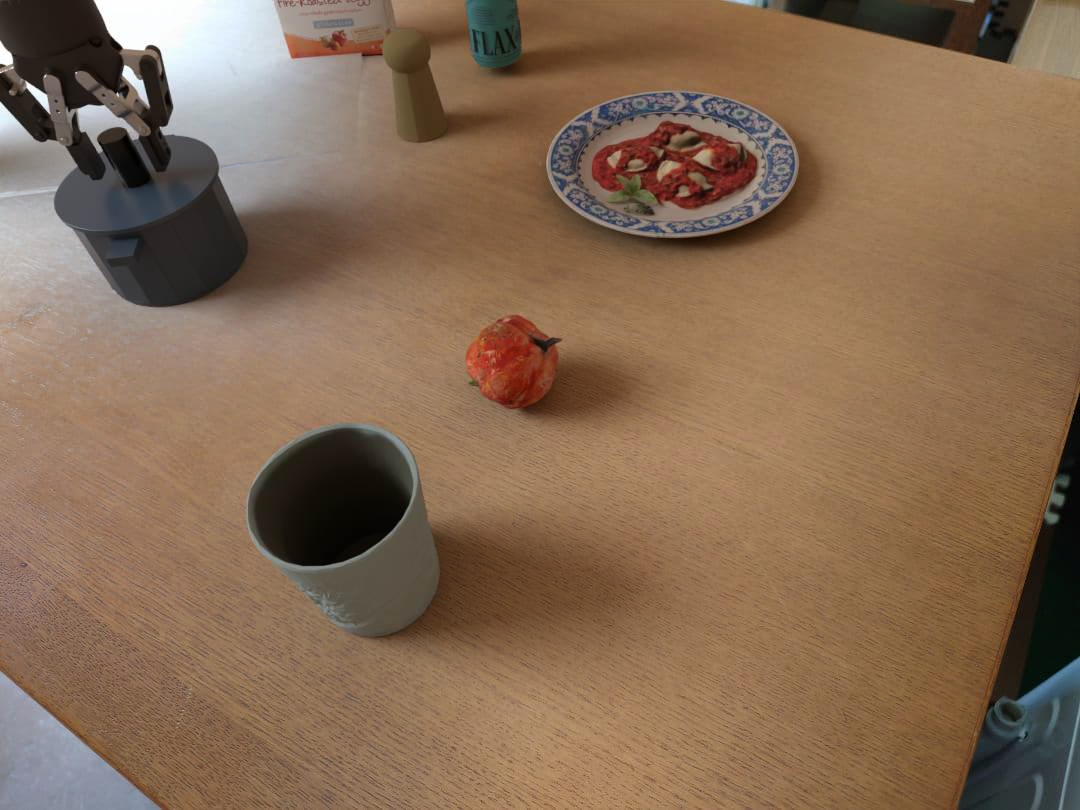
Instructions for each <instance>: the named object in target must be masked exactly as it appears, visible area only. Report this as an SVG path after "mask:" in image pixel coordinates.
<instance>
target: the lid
mask: <svg viewBox="0 0 1080 810" xmlns="http://www.w3.org/2000/svg"><path fill="white" fill-rule="evenodd" d="M163 135H164V137H165V139H166V141H167V143H168V146H169V147H170V149H171V158H170V161H169V164H168V166H167V169H166V171H164V172H156V171H155V169H154V167H153V165H152V163H151V161H150V160H149V158H148V156H147V154H146V152H145V150H144V148H143V146H142V144H141V142H140V141H139V139H138V138H136V139H133V138H132V137H131V135H130V133H129V132H128V130H127V129H126V128H125V127H122V126H114V127H110V128H107V129H105V130H103V131H102V132H100V133H99V134H97V137H96V141H97V143H98V145H99V146H100V148H101V149H102V151H100V152H98V154H99V155H100V157H101V159H102V160H103V162H104V164H105V167H106V171H105V174H104V176H103V178H102V180H95V181H93V180H92V179H91V178H90V176H89V175H85V174H83V173H82V172H81V171H80V169H79V168H78V166H77V165H76V167H75V168H74V169H72V170H71V171H70V172H69V173H68V174H67V175H66V177H64V179H63V180H62V181H61V183H60V184H59V186H58V188H57V189H56V192H55V194H54V197H53V209H54V210H55V213H56V215H57V217H58V218H59V219H60V220H61V222H62V223H63V224H64V225H66V227H68V228H70V229H72V230H73V229H74V230H76V231H79V232H82V233H87V234H94V235H117V234H125V233H131V232H135V231H140V230H144V229H147V228H150V227H153V226H156V225H159V224H161V223H164V222H166V221H168V220H170V219H172V218H174V217H176V216H178V215H180V214H182V213H183V212H185V211H187V210H188V209H190V208H191V207H193V206H194V205H195V204H196V203H198V202H199V201H200V200H201V199H202V198H203V197H204V196H205V195H206V194H207V193H208V192H209V191H210V189H211V188H212V187H213V185H214V183H215V182H216V180H217V177H218V176H219V172H220V162H219V160H218V156H217V154H216V152H215V151H214V149H213V148H212V147H210V145H208V144H207V143H206V142H204V141H201V140H199V139H197V138H194V137H191V136H186V135H178V134H177V135H176V134H174V135H172V134H163Z"/></svg>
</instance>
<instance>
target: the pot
mask: <svg viewBox="0 0 1080 810" xmlns="http://www.w3.org/2000/svg"><path fill="white" fill-rule="evenodd" d="M171 135H175V134H173V133H172V134H171ZM72 231H73V232H74V234H75V235H76V237H77V238H78V240H79V241H80V243H81V244H82V246H83V247H84V248H85V250H86V252H87V253H88V255H89V256H90V257H91V259H92V261H93V262H94V264H95V265H96V266H97V268H98V270H99V271H100V273H101V274H102V276H103V277H104V279H105V280H106V282H107V283H108V284H109V286H110V288H111V289H112V290H113V291H115V292H116V294H117V295H118V296H120V297H121V298H122V299H124V301H127V302H129V303H131V304H134V305H138V306H143V307H154V308H155V307H156V308H157V307H169V306H174V305H180V304H183V303H188V302H190V301H193V300H196V299H199V298H201V297H203V296H206V295H208V294H209V293H211V292H213V291H215V290H216V289H219V287H221V286H222V285H224V284H225V283H227V282H228V281H229V280H230V279H231V278H232V277H233V276H234V275H235V274H236V273H237V272H238V271H239V270H240V268H241V266H242V265H243V263H244V262H245V259H246V257H247V254H248V248H249V242H248V236H247V235H246V232H245V230H244V227H243V226H242V224H241V222H240V219H239V217H238V215H237V213H236V211H235V209H234V205H233V204H232V202H231V200H230V198H229V196H228V193H227V191H226V188H225V187H224V184H223V182H222V179H221V177H220V176H219V175H218V177H217V180H216V182H215V183H214V185H213V187H212V188H211V189H210V191H209V192H208V193H207V194H206V195H205V196H204V197H203V198H202V199H201V200H200V201H199V202H198V203H196V204H195V205H194V206H193V207H191V208H190V209H188V210H187V211H185V212H183V213H182V214H180V215H178V216H176V217H174V218H172V219H170V220H168V221H166V222H164V223H161V224H159V225H156V226H153V227H150V228H147V229H144V230H140V231H135V232H131V233H125V234H117V235H94V234H87V233H82V232H79V231H76V230H74V229H72Z"/></svg>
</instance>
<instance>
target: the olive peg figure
mask: <svg viewBox="0 0 1080 810" xmlns="http://www.w3.org/2000/svg"><path fill="white" fill-rule="evenodd" d="M382 53H383V54H382V57H383V60H384V61H385V63H386V65H387V66H388V67H389V68H390V69H391V78H392V79H391V81H392V90H393V91H392V92H393V101H394V111H395V124H396V133H397V135H398V137H399V138H401V139H402V140H404V141H406V142H410V143H424V142H425V143H426V142H429V141H433V140H436V139H437V138H439V137H442V135H444V134H445V133H446V131H447V130H448V127H449V122H448V120H447V116H446V113H445V111H444V106H443V103H442V100H441V97H440V95H439V91H438V87H437V85H436V81H435V78H434V76H433V73H432V70H431V66H430V64H429V62H430V60H431V56H432V48H431V42H430V40H429V39H428V37H427V36H426V34H425V32H423V31H421V30H420V29H416V28H412V27H411V28H410V27H409V28H408V27H407V28H405V27H404V28H400V29H397V30H396V31H394V32H392V33H390V34H389V35H388V36H386V38H385V39H384V42H383V49H382Z"/></svg>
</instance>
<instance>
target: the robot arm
mask: <svg viewBox="0 0 1080 810" xmlns="http://www.w3.org/2000/svg"><path fill="white" fill-rule="evenodd" d="M0 43H1V44H2V46H3V47H4V49H5V50H6V51H7V52H9V53H10V54H11V58H12V63H10V64H7V65H6V64H4V63H0V103H1V105H2V106H3V107H4V108H5V109H6V110H7V111H8V112H9V114H10V115H11V116H12V117H13V118H14V119H15V120H16V122H18V123H19V124H20V125H21V126H22V128H23V129H24V130H25V131H26V132H27V133H28V134H29V135H30V136H31V138H32V139H34V140H35V141H36V142H39V143H46V142H47V141H48V140H49V141H54V142H58V143H59V144H60V145H61V146H64V147H65V148H66V150H67V152H68V153H69V155H70V156H71V159H72V160H73V161H74V163H75V164H76V167H77V166H78V168H79V169H80V171H81V172H82V173H83V174H85V175H89V176H90V178H91V179H92V180H93V181H95V180H102V178H103V176H104V174H105V171H106V167H105V164H104V162H103V160H102V159H101V157H100V155H99V154H98V153H99V152H98V150H97V148H96V147H95V145H94V143H93V141H92V140H91V138H90V136H89V134H88V133H87V131H81V129H80V128H81V125H80V118H79V117H80V116H79V111H78V110H80V109H82V108H84V107H87V106H95V107H101V106H102V107H103V106H104V107H105V108H107V109H108V111H109V112H111V113H112V115H114V116H115V117H116V118H120V119H123V120H124V121H125V122H126V123H127V125H128V126H130V128H132V129H133V130H134V131H135V132H136V134H137V135H138V137H137V139H139V141H140V142H141V144H142V146H143V148H144V150H145V152H146V154H147V156H148V158H149V160H150V161H151V163H152V165H153V167H154V169H155V171H156V172H164V171H166V169H167V166H168V164H169V161H170V158H171V149H170V147H169V146H168V143H167V141H166V139H165V137H164V135H165V134H163V131H162V129H161V128H166V127H167V126H168V125H169V122H170V119H171V116H172V113H173V112H174V103H173V98H172V95H171V94H172V93H171V91H170V90H171V89H170V86H169V81H168V77H167V73H166V68H165V64H164V60H163V54H162V51H161V49H160V47H158V46H156V45H154V44H148V45H146V46H145V49H144V50H142V49H130V48H124V47H123V46H122V45H121V44H120V43H119V42H118V41H117V40H116V39H115V38H114V37H113V36H112V35H111V33H110V32H109V30H108V28H107V25H106V23H105V19H104V17H103V15H102V14H101V11H100V9H99V7H98V6H97V3H96V2H95V0H0ZM125 66H126V67H128V68H129V69H131V71H132V72H133V74H134V76H135V77H136V79H137V80H138V81H142V82H143V87H144V90H145V94H146V98H147V102H148V104H147V103H146V102H145V101H144V100H143V99H142V98H141V97H140V95H139V91H138V90H137V88H136V87H135V86H133V85H132V83H131V82H130V81H129V80H128V79H127V78H126V77H125V76H124V75H123V73H124V68H125ZM28 84H29V85H31V86H32V87H34V88H35V89H37V90H38V91H40V92H41V93H43V94H44V95H46V97H47V103H48V109H49V111H48V110H47V109H46V108H45V107H44V106H43V105H42V103H40V101H39V100H38V99H37V98H36V96H35V95H34V94H33V93H32V92H31V91H30V90H29V88H28ZM117 94H118V95H117Z"/></svg>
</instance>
